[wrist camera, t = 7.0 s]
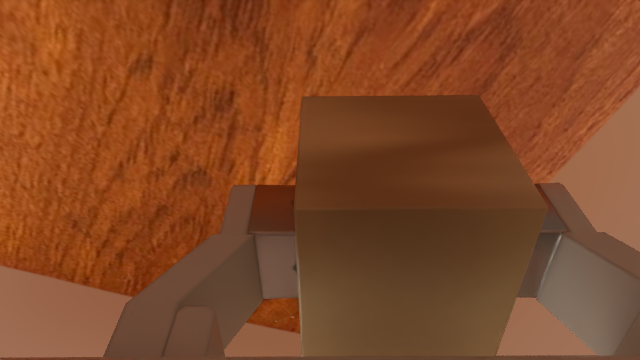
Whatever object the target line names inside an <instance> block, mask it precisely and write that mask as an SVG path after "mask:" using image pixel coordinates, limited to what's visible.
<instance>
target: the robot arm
mask: <svg viewBox="0 0 640 360" xmlns="http://www.w3.org/2000/svg"><path fill="white" fill-rule="evenodd" d="M534 185H535V186H536V188H537V189H538V191H539V193H540V194H541V196H542V197H543V199H544V201H545V202H546V204H547V205H548V211H547V213H546V216H545V219H544V222H543V225H542V227H541V230H540V233H539V236H538V239H537V241H536V244H535V247H534V250H533V253H532V255H531V258H530V261H529V264H528V267H527V270H526V272H525V275H524V278H523V281H522V284H521V286H520V289H519V292H518V295H517V297H532V298H534V297H535V298H537V299H536V300H537V301H539V302H540V303H541V304H542V305H543V306H544V307H545V308H546V309H547V310H549V311H550V312H551V313H552V314H553V315H554V316H555V317H556V318H557V319H558V320H559V321H561V322H562V323H563V324H564V325H565V326H566V327H567V328H568V329H569V330H570V331H572V332H573V333H574V334H575V335H576V336H577V337H578V338H579V339H580V340H581V341H583V342H584V343H585V344H586V345H587V346H588V347H589V348H591V350H592V351H594V352H595V353H596V354H597V355H588V356H316V357H225V354H224V349H225V348H226V347H227V345H228V344H229V343H230V342H231V340H232V339H233V338H234V336H235V335H236V334H237V333H238V331H239V330H240V329H241V328H242V326H243V325H244V324H245V323H246V321H247V320H248V319H249V318H250V316H251V315H252V314H253V312H254V311H255V310H256V309H257V307H258V306H259V305H260V304H261V302H262V299H272V298H298V280H297V261H296V242H295V223H294V199H295V185H234V186H233V187H232V188H231V191H230V195H229V199H228V203H227V207H226V211H225V215H224V219H223V222H222V226H221V230H220V234H213V235H211V236H210V237H209V238H208V239H206V240H205V241H204V242H203V243H201V244H200V245H199V246H197V247H196V248H195V249H194V250H192V251H191V252H190V253H189V254H187V255H186V256H185V257H184V258H182V259H181V260H180V261H179V262H177V263H176V264H175V265H174V266H172V267H171V268H170V269H169V270H167V271H166V272H165V273H164V274H162V275H161V276H160V277H159V278H157V279H156V280H155V281H154V282H152V283H151V284H150V285H149V286H147V287H146V288H145V289H144V290H142V291H141V292H140V293H139V294H137V295H136V296H135V297H133V298H132V299H131V300H130V301H129V302H127V303H126V305H125V307H124V309H123V311H122V314H121V316H120V319H119V321H118V323H117V326H116V328H115V330H114V333H113V335H112V337H111V340H110V342H109V344H108V347H107V349H106V351H105V354H104V356H103V357H71V358H70V357H63V358H62V357H59V358H58V357H56V358H55V357H54V358H0V360H640V252H639V251H637V250H635V249H634V248H631V247H630V246H628V245H626V244H625V243H623V242H621V241H619V240H617V239H615V238H614V237H612V236H610V235H608V234H607V233H604V232H596V230H595V229H594V227H593V226H592V224H591V223H590V222H589V220H588V219H587V218H586V216H585V215H584V213H583V212H582V211H581V209H580V208H579V206H578V205H577V203H576V202H575V201H574V199H573V198H572V197H571V195H570V194H569V192H568V191H567V190H566V188H565V187H564V186H563V185H562V184H560V183H536V184H534Z"/></svg>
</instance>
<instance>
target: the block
mask: <svg viewBox="0 0 640 360" xmlns="http://www.w3.org/2000/svg"><path fill="white" fill-rule="evenodd" d="M547 211H548V205H547V204H546V202H545V201H544V199H543V197H542V196H541V194H540V193H539V191H538V189H537V188H536V186H535V185H534V183H533V181H532V180H531V178H530V177H529V175H528V173H527V172H526V170H525V168H524V167H523V165H522V164H521V162H520V160H519V159H518V157H517V156H516V154H515V152H514V151H513V149H512V148H511V146H510V144H509V143H508V141H507V140H506V138H505V136H504V135H503V133H502V131H501V130H500V128H499V127H498V125H497V123H496V122H495V120H494V119H493V117H492V115H491V114H490V112H489V111H488V109H487V107H486V106H485V104H484V103H483V101H482V99H481V98H480V96H478V95H450V96H321V97H302V99H301V113H300V127H299V142H298V156H297V170H296V184H295V199H294V223H295V242H296V261H297V280H298V299H299V318H300V337H301V355H302V357H316V356H496V354H497V351H498V348H499V345H500V342H501V339H502V337H503V334H504V331H505V328H506V325H507V323H508V320H509V317H510V314H511V311H512V309H513V306H514V303H515V300H516V298H517V295H518V292H519V289H520V286H521V284H522V281H523V278H524V275H525V272H526V270H527V267H528V264H529V261H530V258H531V255H532V253H533V250H534V247H535V244H536V241H537V239H538V236H539V233H540V230H541V227H542V225H543V222H544V219H545V216H546V213H547Z"/></svg>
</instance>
